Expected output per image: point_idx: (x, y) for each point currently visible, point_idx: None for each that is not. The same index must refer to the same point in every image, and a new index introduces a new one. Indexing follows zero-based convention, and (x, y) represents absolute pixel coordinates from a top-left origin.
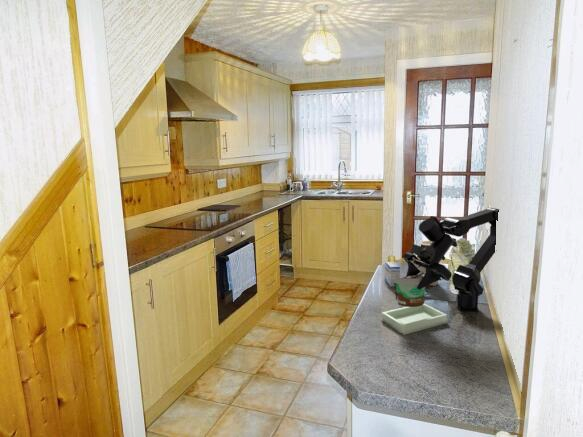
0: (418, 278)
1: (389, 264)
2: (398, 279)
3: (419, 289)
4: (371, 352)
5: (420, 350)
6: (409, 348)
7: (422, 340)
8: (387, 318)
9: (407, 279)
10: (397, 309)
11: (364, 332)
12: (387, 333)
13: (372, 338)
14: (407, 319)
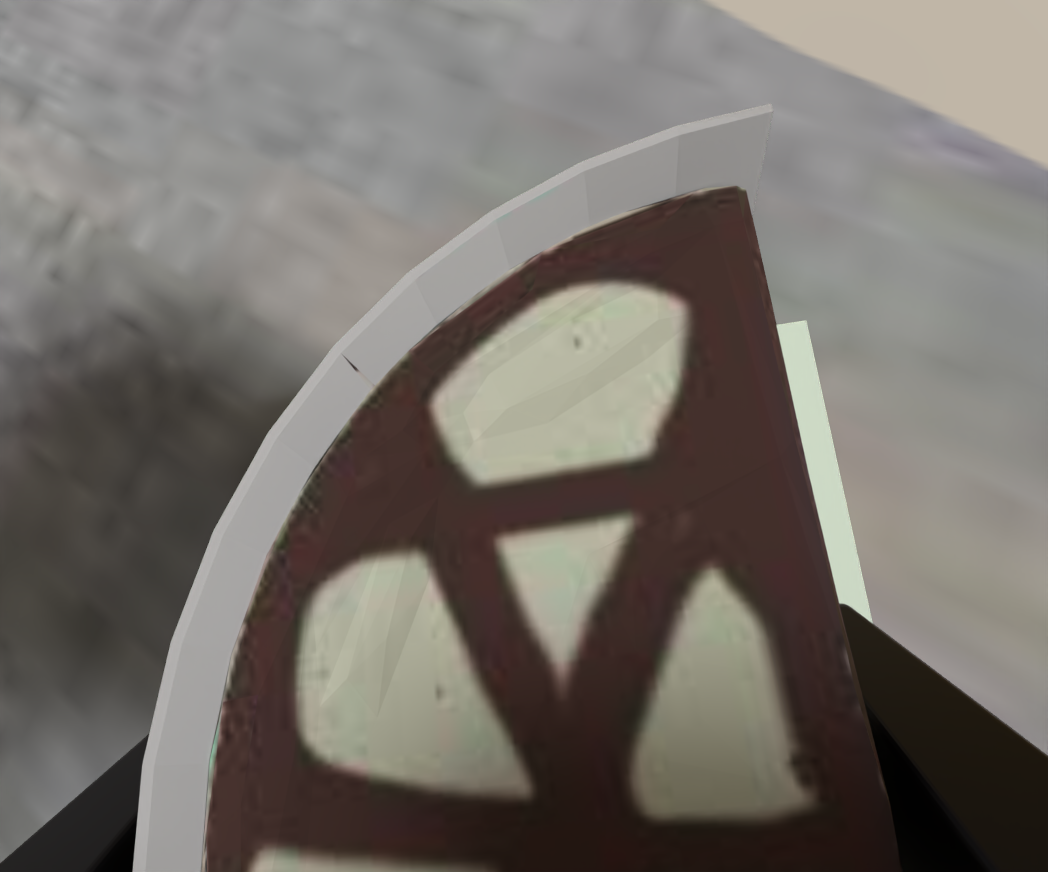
0: (148, 803)
1: None
2: (614, 184)
3: None
4: (219, 26)
5: (42, 415)
6: (118, 341)
7: (178, 545)
8: None
9: (335, 369)
10: (838, 585)
11: (575, 90)
12: None
13: (430, 115)
14: None
